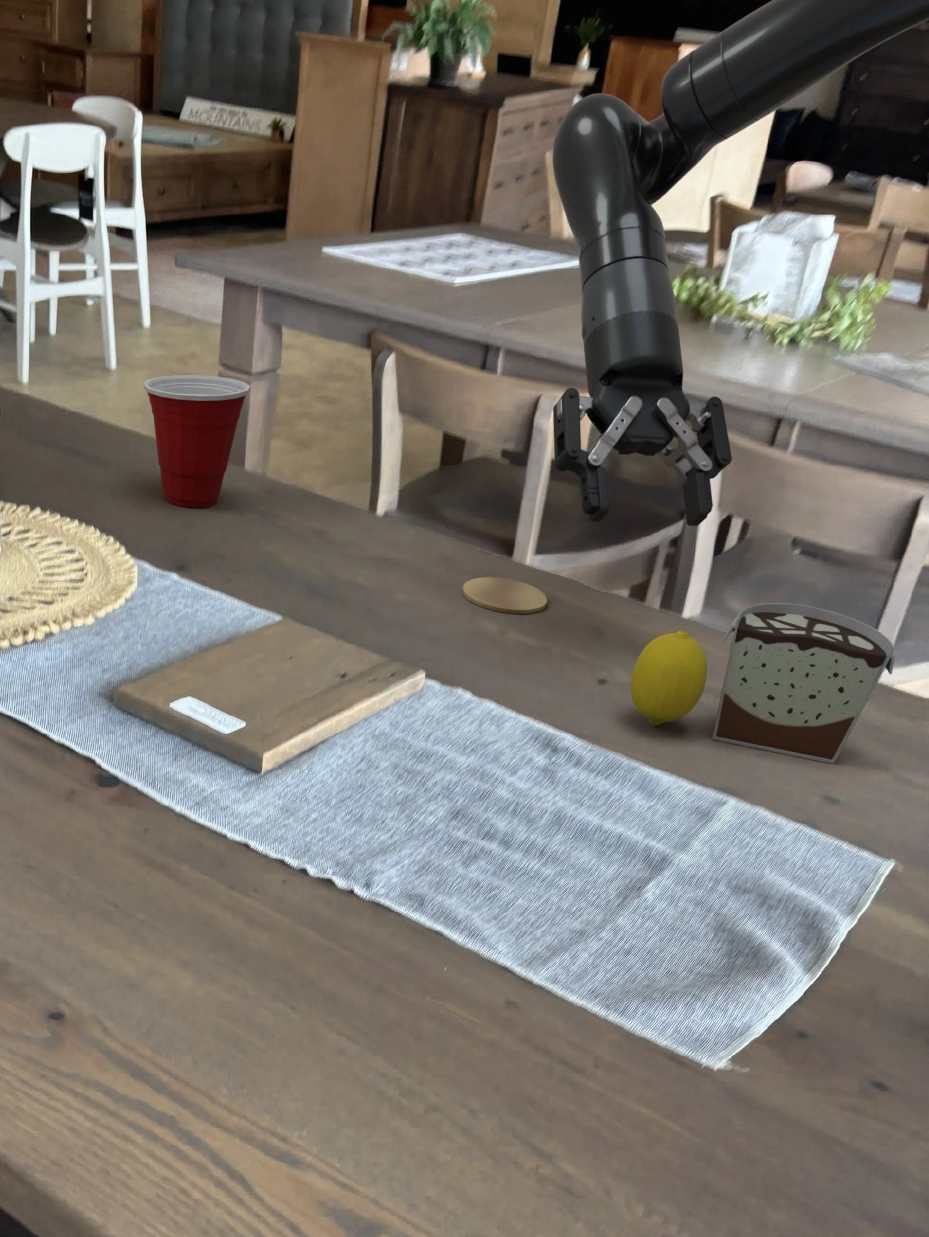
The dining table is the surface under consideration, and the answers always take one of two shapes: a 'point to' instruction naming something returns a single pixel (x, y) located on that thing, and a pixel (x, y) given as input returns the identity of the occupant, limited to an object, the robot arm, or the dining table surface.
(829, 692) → the food container
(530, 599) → the coaster
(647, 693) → the lemon
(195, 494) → the plastic cup
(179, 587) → the dining table surface
